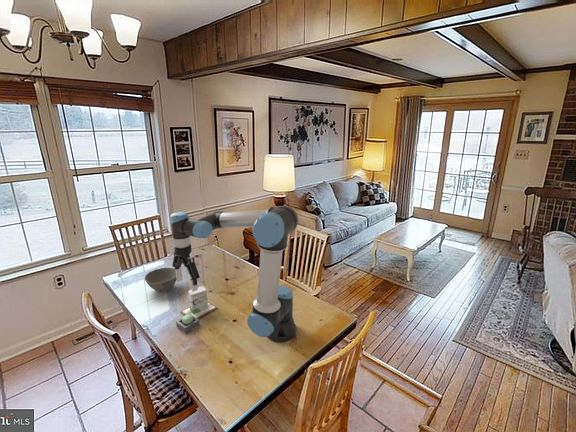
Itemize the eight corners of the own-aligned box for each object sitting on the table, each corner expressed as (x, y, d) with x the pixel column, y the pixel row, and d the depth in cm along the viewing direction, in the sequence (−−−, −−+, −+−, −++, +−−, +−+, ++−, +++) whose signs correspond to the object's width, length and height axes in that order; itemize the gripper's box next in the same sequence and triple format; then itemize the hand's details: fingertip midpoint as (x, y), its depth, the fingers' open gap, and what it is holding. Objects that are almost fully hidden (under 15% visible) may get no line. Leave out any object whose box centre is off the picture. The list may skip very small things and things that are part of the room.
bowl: (139, 295, 173) (137, 280, 170) (160, 280, 191) (158, 265, 188) (168, 300, 169) (165, 284, 166) (186, 283, 186) (184, 269, 183)
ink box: (193, 314, 155) (190, 294, 152) (189, 309, 159) (187, 290, 155) (208, 308, 160) (206, 289, 156) (205, 304, 164) (203, 285, 160)
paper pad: (217, 308, 162) (217, 307, 161) (193, 321, 150) (193, 320, 150) (204, 300, 169) (204, 299, 169) (180, 312, 158) (180, 311, 157)
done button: (195, 322, 147) (194, 317, 147) (186, 327, 144) (185, 322, 143) (189, 318, 150) (188, 313, 150) (180, 323, 147) (179, 318, 146)
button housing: (199, 325, 148) (199, 320, 147) (185, 333, 142) (184, 328, 141) (190, 318, 153) (190, 313, 152) (176, 326, 147) (175, 321, 146)
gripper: (205, 249, 133) (208, 291, 139) (176, 236, 149) (180, 274, 155) (190, 255, 128) (194, 298, 134) (161, 240, 143) (166, 279, 150)
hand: (187, 285), depth 145 cm, fingers open, 13 cm apart
